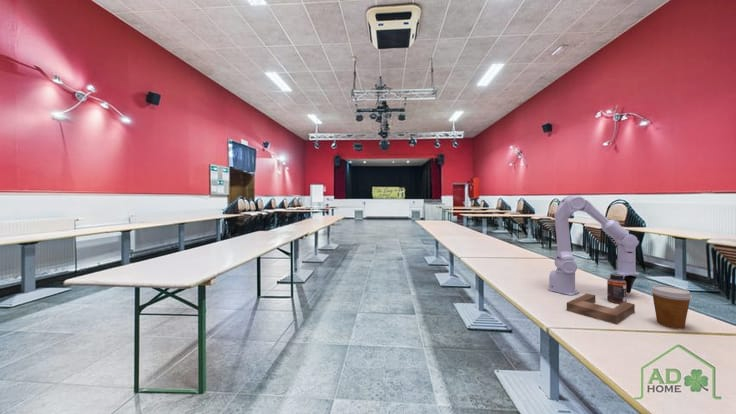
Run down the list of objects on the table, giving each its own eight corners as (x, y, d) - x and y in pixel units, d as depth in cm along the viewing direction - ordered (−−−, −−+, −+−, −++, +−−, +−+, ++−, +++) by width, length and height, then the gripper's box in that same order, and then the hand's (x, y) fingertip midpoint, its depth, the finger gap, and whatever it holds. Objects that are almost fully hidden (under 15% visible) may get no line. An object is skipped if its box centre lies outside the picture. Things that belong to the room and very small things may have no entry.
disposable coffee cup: (701, 331, 89) (701, 293, 89) (670, 331, 90) (670, 294, 89) (669, 318, 99) (670, 284, 99) (642, 318, 99) (642, 285, 99)
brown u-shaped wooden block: (566, 310, 108) (566, 302, 108) (586, 300, 118) (586, 293, 118) (616, 324, 95) (616, 315, 95) (634, 312, 105) (634, 304, 105)
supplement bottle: (630, 304, 112) (630, 276, 112) (613, 304, 113) (613, 276, 113) (620, 299, 118) (620, 272, 118) (604, 298, 119) (603, 272, 119)
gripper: (633, 265, 114) (633, 298, 114) (644, 260, 121) (644, 291, 122) (610, 262, 120) (611, 293, 120) (623, 257, 127) (623, 287, 128)
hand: (626, 292), depth 121 cm, fingers closed
